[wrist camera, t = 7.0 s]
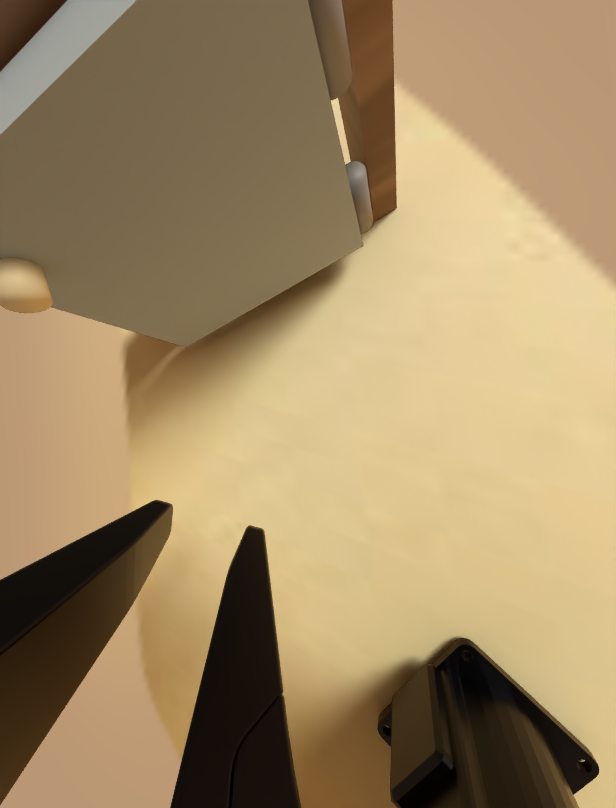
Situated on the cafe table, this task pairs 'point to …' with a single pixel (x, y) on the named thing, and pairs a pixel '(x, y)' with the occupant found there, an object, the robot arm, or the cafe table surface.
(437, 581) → the cafe table surface
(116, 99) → the cabinet door
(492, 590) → the cafe table surface
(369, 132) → the cabinet frame
